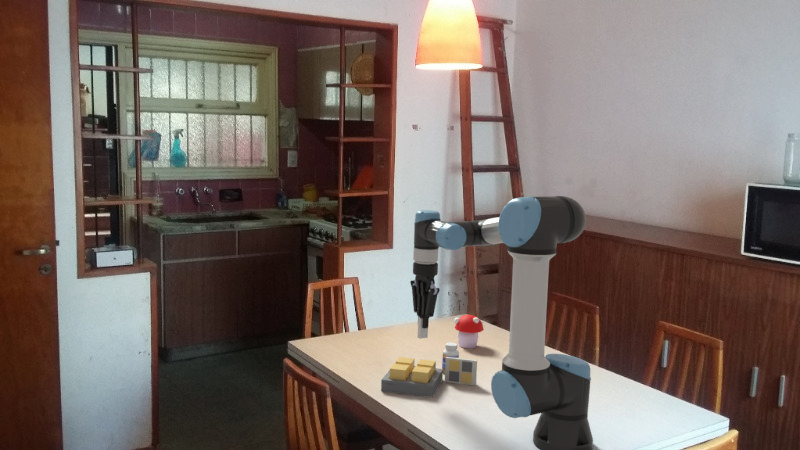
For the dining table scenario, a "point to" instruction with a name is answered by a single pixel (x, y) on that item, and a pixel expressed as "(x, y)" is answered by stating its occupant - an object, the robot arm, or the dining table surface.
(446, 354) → the pill bottle
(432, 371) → the button
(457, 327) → the mushroom
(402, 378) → the button
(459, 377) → the plaque
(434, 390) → the board
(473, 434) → the dining table surface
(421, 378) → the button
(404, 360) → the button
